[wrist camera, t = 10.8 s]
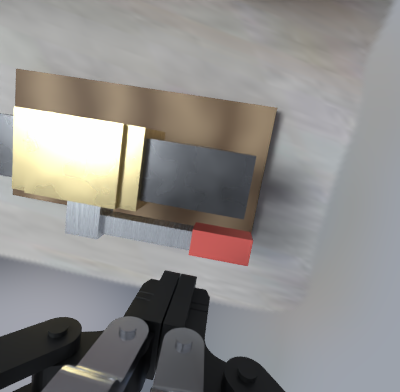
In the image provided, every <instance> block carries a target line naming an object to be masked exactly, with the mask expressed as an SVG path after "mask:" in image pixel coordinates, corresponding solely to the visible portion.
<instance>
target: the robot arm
mask: <svg viewBox="0 0 400 392" xmlns="http://www.w3.org/2000/svg"><path fill="white" fill-rule="evenodd" d="M196 279H197V277H195V276H191V275H186V274H181V276H180V273H175V272H170V271H166V270H165V271H164V273H163V275H162V277H161V279H160V281H159V280H154V279H150V280H149V281H147V282H146V283H144V284H143V285H142V287H141V289H140V290H139V292H138V293H137V295H136V297H135V299H134V300H133V302H132V303H131V305H130V307H129V308H128V310H127V312H126V313H125V315H124V317H121V318H118V319H116V320H114V321H112V322H111V323H110V324H109V325H108V327H107V328H106V329H105V330H103V331H97V332H81V330H82V327H81V324H80V323H79V322H78V321H77V320H75V319H73V318H68V317H59V318H54V319H50V320H48V321H45V322H42V323H39V324H36V325H33V326H30V327H27V328H24V329H21V330H19V331H16V332H13V333H10V334H7V335H4V336H1V337H0V389H3V388H5V387H7V386H9V385H11V384H13V383H15V382H18V381H20V380H22V379H24V378H26V377H28V376H31V375H32V383H30V384H28V385H25V386H23V387H21V388H20V389H17V390H15V391H13V392H140V391H141V390H142V387H143V384H144V382H145V379H151V380H153V378H154V375H155V379H154V383H153V387H152V388H151V390H150V392H285V391H284V390H283V389H282V388H281V387H280V386H279V384H278V383H277V382H276V381H275V380H274V379H273V378H272V377H271V376H270V374H269V373H267V371H266V370H265V369H264V368H263V367H262V366H261V365H260V364H259V363H257V362H256V361H254V360H252V359H250V358H247V357H234V358H232V359H230V360H229V361H227V363H226V362H224V361H222V360H221V359H219V358H217V357H216V356H214V355H213V354H212V353H211V352H210V351H209V350H208V348H207V347H206V344H205V330H206V323H207V314H208V306H209V299H210V297H209V295H208V293H207V291H206V290H203V289H199V288H195V285H196ZM155 372H156V374H155Z"/></svg>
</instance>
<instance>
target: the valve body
mask: <svg viewBox="0 0 400 392" xmlns="http://www.w3.org/2000/svg"><path fill="white" fill-rule="evenodd" d="M165 134H166V132H162V131H157V130H153V129H149V128H144V127H138V126H132V125H126V124H120V123H114V122H108V121H102V120H96V119H89V118H83V117H77V116H71V115H65V114H58V113H52V112H46V111H40V110H34V109H28V108H20V107H14V115H8V114H2V113H0V175H3V176H9V177H12V189H18V190H23V191H24V193H29V194H34V195H40V196H45V197H50V198H56V199H61V200H66V201H72V202H77V203H82V204H88V205H93V206H98V207H104V208H109V209H114V210H115V209H117V208H119V209H125V210H130V211H135V212H136V211H137V210H138V209H140V208H141V207H143V206H144V205H146V204H147V203H149V202H151V203H156V204H161V205H167V206H172V207H178V208H183V209H189V210H194V211H200V212H205V213H211V214H216V215H221V216H227V217H232V218H238V219H243V220H244V217H245V212H246V207H247V202H248V197H249V192H250V187H251V182H252V177H253V172H254V167H255V162H256V157H257V156H254V155H251V154H245V153H239V152H233V151H227V150H221V149H220V148H213V147H207V146H201V145H195V144H188V143H178V142H172V141H166V140H165Z"/></svg>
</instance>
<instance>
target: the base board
mask: <svg viewBox="0 0 400 392" xmlns="http://www.w3.org/2000/svg"><path fill="white" fill-rule="evenodd" d="M15 107H20V108H28V109H34V110H40V111H46V112H52V113H58V114H65V115H71V116H77V117H83V118H89V119H96V120H102V121H108V122H114V123H120V124H126V125H132V126H138V127H144V128H149V129H153V130H157V131H162V132H166V134H165V140H166V141H172V142H178V143H188V144H195V145H201V146H207V147H213V148H220V149H221V150H227V151H233V152H239V153H245V154H251V155H254V156H257V157H256V162H255V167H254V172H253V177H252V182H251V187H250V192H249V197H248V202H247V207H246V212H245V217H244V220H243V219H238V218H232V217H227V216H221V215H216V214H211V213H205V212H200V211H194V210H189V209H183V208H178V207H172V206H167V205H161V204H156V203H151V202H149V203H147V204H146V205H144V206H143V207H141V208H140V209H138V210H137V211H136V212H135V211H130V210H125V209H119V208H117V209H115V210H114V209H113V211H115V212H121V213H126V214H132V215H137V216H143V217H148V218H153V219H159V220H164V221H170V222H175V223H181V224H186V225H192V226H194V225H195V223H196V222H198V223H204V224H209V225H215V226H220V227H226V228H231V229H237V230H242V231H248V232H252V227H253V222H254V217H255V212H256V207H257V203H258V198H259V193H260V188H261V183H262V178H263V174H264V169H265V164H266V159H267V154H268V149H269V145H270V140H271V135H272V130H273V125H274V120H275V116H276V111H277V108H274V107H268V106H261V105H255V104H248V103H241V102H235V101H228V100H221V99H215V98H208V97H201V96H195V95H188V94H181V93H175V92H168V91H161V90H155V89H148V88H141V87H135V86H128V85H122V84H115V83H108V82H102V81H95V80H88V79H82V78H75V77H68V76H62V75H55V74H48V73H42V72H35V71H28V70H22V69H16V93H15ZM13 195H17V196H22V197H28V198H33V199H38V200H43V201H49V202H54V203H59V204H65V205H67V201H66V200H61V199H56V198H50V197H45V196H40V195H34V194H29V193H24V191H23V190H18V189H13Z"/></svg>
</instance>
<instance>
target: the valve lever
mask: <svg viewBox="0 0 400 392" xmlns="http://www.w3.org/2000/svg"><path fill="white" fill-rule="evenodd" d="M65 233H68V234H73V235H79V236H84V237H89V238H94V239H98V238H99V237H101V236H102V235H104V234H106V235H111V236H116V237H122V238H127V239H132V240H138V241H143V242H148V243H154V244H159V245H164V246H169V247H175V248H180V249H185V250H189V255H192V256H197V257H202V258H207V259H213V260H218V261H223V262H228V263H234V264H239V265H244V266H248V263H249V258H250V253H251V248H252V244H253V239H252V235H251V232H248V231H242V230H237V229H231V228H226V227H220V226H215V225H209V224H204V223H198V222H196V223H195V225H194V226H192V225H186V224H181V223H175V222H170V221H164V220H159V219H153V218H148V217H143V216H137V215H132V214H126V213H121V212H115V211H113V209H109V208H104V207H98V206H93V205H88V204H82V203H77V202H72V201H67V213H66V229H65Z"/></svg>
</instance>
